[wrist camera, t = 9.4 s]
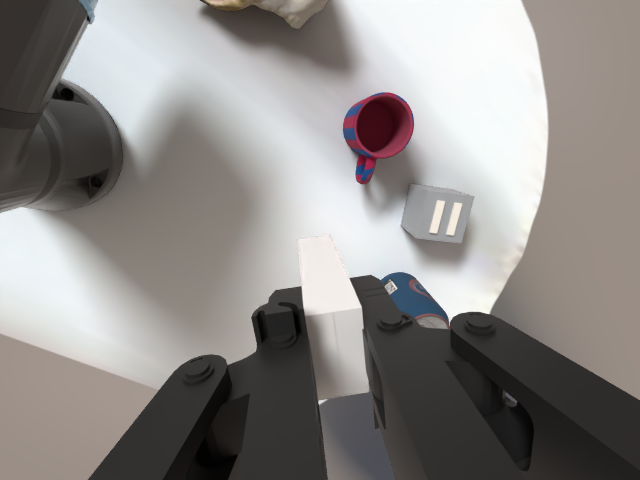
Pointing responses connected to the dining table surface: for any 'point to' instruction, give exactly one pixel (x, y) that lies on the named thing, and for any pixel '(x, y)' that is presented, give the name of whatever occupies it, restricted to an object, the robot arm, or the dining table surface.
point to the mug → (377, 130)
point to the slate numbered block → (436, 213)
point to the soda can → (415, 300)
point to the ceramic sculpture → (276, 8)
